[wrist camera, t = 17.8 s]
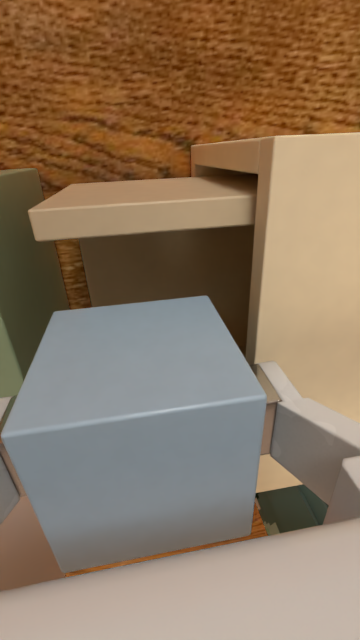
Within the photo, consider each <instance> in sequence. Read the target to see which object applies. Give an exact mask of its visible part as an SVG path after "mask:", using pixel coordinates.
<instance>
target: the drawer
mask: <svg viewBox="0 0 360 640" xmlns="http://www.w3.org/2000/svg"><path fill="white" fill-rule="evenodd" d="M257 188H258V174H237V175H220V176H203V177H185V178H168V179H150V180H133V181H115V182H98V183H81V184H71V185H69V186H68V187H66V188H64V189H63V190H61V191H59V192H58V193H56V194H54V195H53V196H51V197H49V198H48V199H46V200H44V195H43V191H42V187H41V182H40V178H39V174H38V170H37V168H25V169H8V170H1V171H0V397H8V396H15V395H18V393H19V391H20V388H21V386H22V384H23V382H24V379H25V377H26V375H27V372H28V370H29V368H30V365H31V363H32V361H33V358H34V356H35V354H36V351H37V349H38V347H39V345H40V342H41V340H42V338H43V335H44V333H45V331H46V328H47V326H48V324H49V321H50V319H51V317H52V315H53V312H55V311H64V310H70V307H69V303H68V299H67V294H66V290H65V286H64V281H63V277H62V273H61V268H60V264H59V260H58V256H57V251H56V247H55V243H54V240H66V239H78V240H79V245H80V250H81V255H82V261H83V266H84V271H85V276H86V281H87V286H88V291H89V296H90V302H91V307H102V306H111V305H121V304H130V303H140V302H149V301H159V300H168V299H178V298H187V297H197V296H208V297H209V299H210V300H211V302H212V304H213V305H214V307H215V309H216V310H217V312H218V314H219V315H220V317H221V319H222V320H223V322H224V324H225V326H226V327H227V329H228V331H229V332H230V334H231V336H232V337H233V339H234V341H235V342H236V344H237V346H238V347H239V349H240V351H241V353H242V354H243V356H244V358H245V357H246V343H247V329H248V315H249V301H250V287H251V273H252V259H253V245H254V231H255V216H256V202H257Z"/></svg>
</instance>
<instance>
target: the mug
mask: <svg viewBox="0 0 360 640" xmlns="http://www.w3.org/2000/svg"><path fill="white" fill-rule="evenodd" d="M65 574H66V573H63V572H61V570H60V568H59V565H58V563H57V561H56V559H55V556H54V554H53V552H52V550H51V548H50V545H49V543H48V541H47V539H46V537H45V534H44V532H43V530H42V528H41V525H40V523H39V521H38V519H37V517H36V514H35V512H34V510H33V508H32V506H31V503H30V501H29V499H28V497H27V496H23V497H20V501H19V502H18V503H17V504H16V506H15V507H14V508H13V510H12V511H11V512H10V513H9V515H8V516H7V517H6V519H5V520H4V521H3V522H2V524H1V525H0V591H2V590H7V589H12V588H17V587H22V586H27V585H32V584H36V583H41V582H46V581H51V580H56V579H61V578H65Z"/></svg>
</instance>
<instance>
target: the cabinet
mask: <svg viewBox="0 0 360 640" xmlns="http://www.w3.org/2000/svg"><path fill="white" fill-rule="evenodd" d="M237 174H258V188H257V202H256V216H255V231H254V245H253V259H252V273H251V287H250V301H249V315H248V329H247V343H246V357H245V359H246V361H247V363H248V364H249V365H251V364H256V363H261V362H267V361H275V362H276V363H277V364H278V365H279V367H280V368H281V369H282V371H283V372H284V373H285V375H286V376H287V377H288V379H289V380H290V381H291V383H292V384H293V385H294V387H295V388H296V389H297V391H298V392H299V393H300V395H301V396H302V397H303V398H310V399H312V400H314V401H316V402H318V403H320V404H322V405H324V406H326V407H328V408H330V409H332V410H334V411H336V412H338V413H340V414H342V415H344V416H346V417H348V418H350V419H352V420H354V421H356V422H358V423H360V132H355V133H331V134H308V135H284V136H270V137H262V138H253V139H245V140H236V141H227V142H218V143H209V144H200V145H192V146H191V177H203V176H220V175H237ZM302 484H303V483H302V482H300V481H299V480H298V479H297V478H296V477H295V476H293V475H292V474H291V473H290V472H289V471H287V470H286V469H285V468H284V467H283V466H282V465H280V464H279V463H278V462H277V461H276V460H274V459H273V458H272V457H271V456H270V454H267V455H260V461H259V470H258V478H257V486H256V493H259V492H264V491H270V490H275V489H280V488H286V487H291V486H297V485H302Z"/></svg>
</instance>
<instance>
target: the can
mask: <svg viewBox="0 0 360 640" xmlns="http://www.w3.org/2000/svg"><path fill="white" fill-rule="evenodd" d="M255 502H256V505H257V508H258V510H259V513H260V515H261V518H262V521H263V523H264V526H265V529H266V531H267V534H268V536H270V535H275V534H280V533H285V532H289V531H294V530H299V529H304V528H309V527H314V526H319V525H323V522H324V519H325V516H326V512H327V509H328V506H329V505H328V504H326V503H325V502H324V501H323V500H322V499H320V498H319V497H318V496H317V495H316V494H315V493H313V492H312V491H311V490H310V489H309V488H308V487H306V486H305V485H304V484H302V485H297V486H291V487H286V488H280V489H275V490H270V491H264V492H259V493H256V495H255Z"/></svg>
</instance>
